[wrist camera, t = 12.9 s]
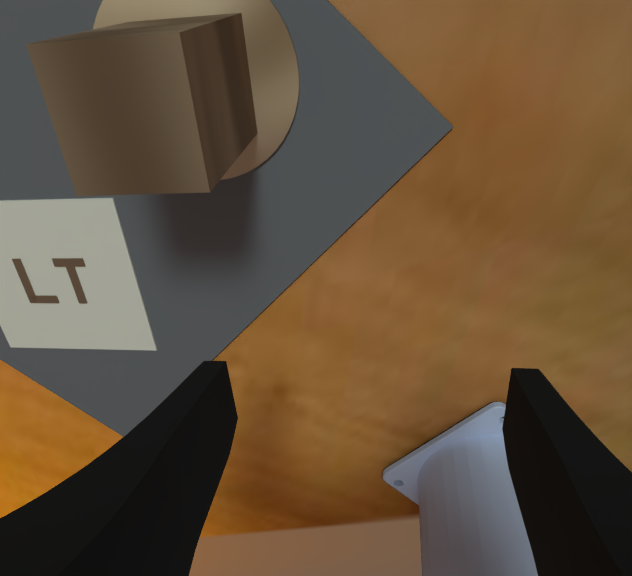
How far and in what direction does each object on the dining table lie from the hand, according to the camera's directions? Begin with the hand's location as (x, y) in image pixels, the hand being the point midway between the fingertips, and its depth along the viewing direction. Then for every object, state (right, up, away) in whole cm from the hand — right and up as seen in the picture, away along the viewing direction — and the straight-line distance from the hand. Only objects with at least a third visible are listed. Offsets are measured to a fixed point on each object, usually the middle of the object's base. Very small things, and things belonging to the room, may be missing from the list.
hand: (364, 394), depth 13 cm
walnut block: (-5, +10, +5) cm, 13 cm away
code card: (-13, +3, +11) cm, 18 cm away
